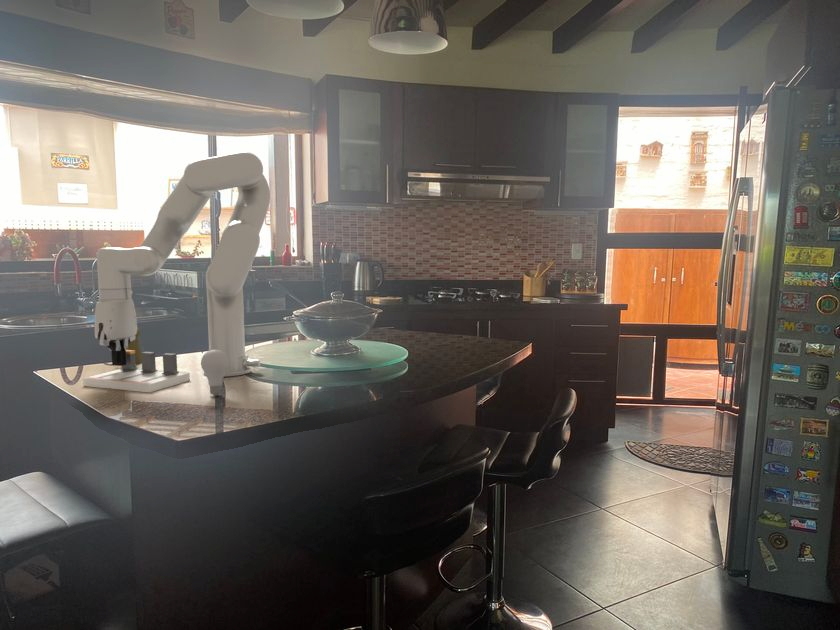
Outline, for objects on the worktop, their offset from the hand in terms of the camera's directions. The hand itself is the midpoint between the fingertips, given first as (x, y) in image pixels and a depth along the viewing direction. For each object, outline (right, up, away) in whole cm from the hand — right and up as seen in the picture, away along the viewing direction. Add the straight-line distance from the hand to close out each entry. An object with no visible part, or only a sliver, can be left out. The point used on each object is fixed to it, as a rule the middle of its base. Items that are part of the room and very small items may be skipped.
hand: (119, 364), depth 155 cm
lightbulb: (+31, -6, -16) cm, 36 cm away
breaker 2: (+14, -2, -2) cm, 14 cm away
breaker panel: (+6, -4, -3) cm, 8 cm away
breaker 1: (+7, -2, +1) cm, 8 cm away
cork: (-8, -2, +24) cm, 26 cm away
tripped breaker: (+1, -2, +3) cm, 4 cm away
